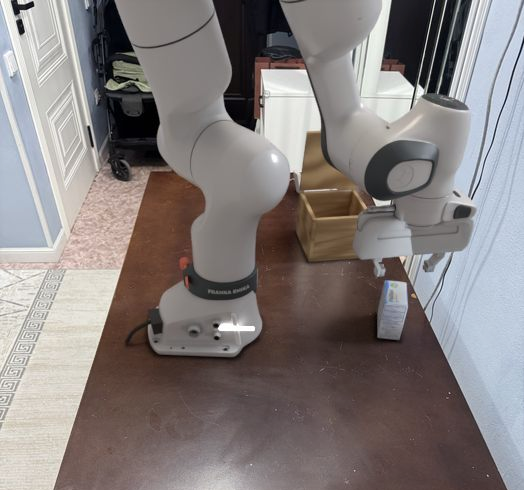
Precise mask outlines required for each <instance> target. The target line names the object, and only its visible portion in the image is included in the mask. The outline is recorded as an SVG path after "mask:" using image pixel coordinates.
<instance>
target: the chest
mask: <svg viewBox="0 0 524 490" xmlns="http://www.w3.org/2000/svg"><path fill="white" fill-rule="evenodd" d="M367 208H368V206H366V204H365V203H364V201H363V199H362V198H361V196H360V194H359V193H358V192H357V190H356V189H355V188H343V189H337V190H326V191H307V192H299V193H298V205H297V219H296V235H297V237H298V240H299V242H300V245H301V247H302V250H303V252H304V254H305V256H306V259H307V262H308V263H312V262H314V263H315V262H325V261H326V262H327V261H339V260H355V259H359V257H358V256H357V255H356V254H355V252H354V250H353V240H354V236H355V232H356V229H357V219H358V215H359V213H361V212H362V211H363V210H365V209H367Z"/></svg>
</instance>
